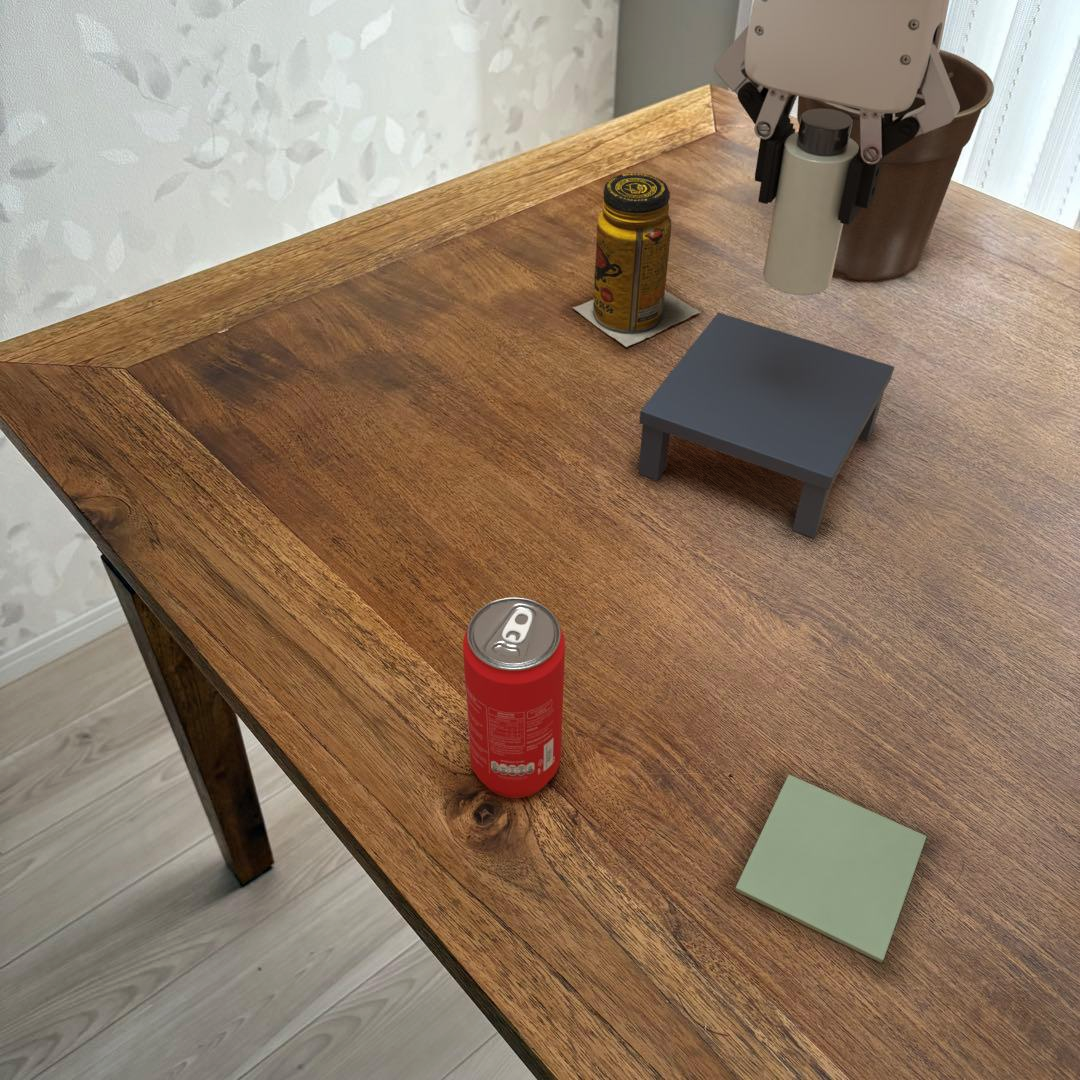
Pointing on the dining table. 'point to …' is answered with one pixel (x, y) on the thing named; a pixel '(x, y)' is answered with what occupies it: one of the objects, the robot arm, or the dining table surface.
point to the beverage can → (514, 695)
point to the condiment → (633, 262)
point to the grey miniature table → (767, 406)
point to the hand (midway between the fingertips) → (811, 201)
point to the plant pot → (908, 181)
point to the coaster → (833, 867)
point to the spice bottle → (809, 203)
